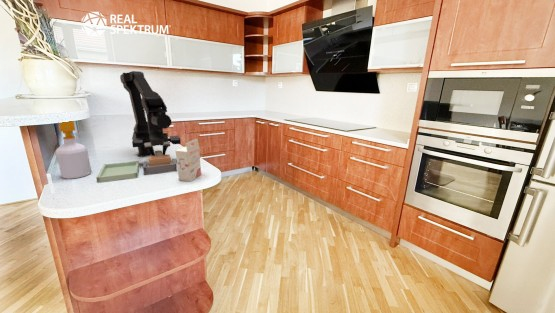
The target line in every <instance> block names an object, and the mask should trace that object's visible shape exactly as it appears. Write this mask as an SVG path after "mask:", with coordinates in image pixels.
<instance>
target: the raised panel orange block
mask: <svg viewBox="0 0 555 313" xmlns="http://www.w3.org/2000/svg"><path fill="white" fill-rule="evenodd" d="M154 152H155V156H152V155H149V156H148V164H149V166H157V165H167V164H172V158H171V156H170V153H169V154H168V153H167V154H166V153H165V155H162V152H163V150H154Z"/></svg>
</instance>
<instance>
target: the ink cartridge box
mask: <svg viewBox="0 0 555 313" xmlns="http://www.w3.org/2000/svg"><path fill="white" fill-rule="evenodd" d="M175 155H176V156H175V157H176V166H177V175H178V181H183V182H192V181H193V180H194V179H196V178H197V177H198V176H200V175H201V174H202V169H201V168H202V167H201V153H200V145H199V140H198V138H196V139H193V140H189V141H188V142H186V143H185V146H183V147H181V148H179V149H177V150H175Z"/></svg>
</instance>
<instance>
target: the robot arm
mask: <svg viewBox="0 0 555 313" xmlns="http://www.w3.org/2000/svg"><path fill="white" fill-rule="evenodd" d="M119 77H120V82H121V84H122V86H123V88H124V90H126V92H128V95H129V98H130V103H131V107H132V112H133V115H134V120H135V124H134V127H133V133H132V137H131V141H132V142H131V143H132V144H131V145H132V148H137V150H138V152H137V157H146V156H148V157H149V156H155V150H154V147H156V146H162V155H166V152H167V151H168V150H167V149H168V148H169V147H171V144H173V145H180V144H181V142H182V141H181V137H180V136H179V135H170V136H169V134H168V132H164V130H165V129H168V128H170V127H171V125H172V119H171V117H170V115H168V114H166V113H168V110H167V109H168V107H167V105H166V104H165V101H164V99H163V98H162V97H161V95H159V93H158V92H156V91H154V90H153V89H152V87H151V86H150V84H149V83H148V80H147V79H146V77H145V74H144V72H142V71H140V70H139V71H137V70H136V71H134V70H133V71H129V72H123V73H122V74H121V75H119Z"/></svg>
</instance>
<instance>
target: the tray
mask: <svg viewBox="0 0 555 313" xmlns="http://www.w3.org/2000/svg"><path fill="white" fill-rule="evenodd" d="M139 169H140V162H139V160H136V161H135V160H134V161H125V162H116V163H115V162H114V163H106V164H105V163H104V164H103V165H102V166H101V168H100V170H99V172H98V174H97V176H96V183H98V184H99V183H106V182H115V181H123V180H129V179H137V178H138V176H139Z"/></svg>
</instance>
